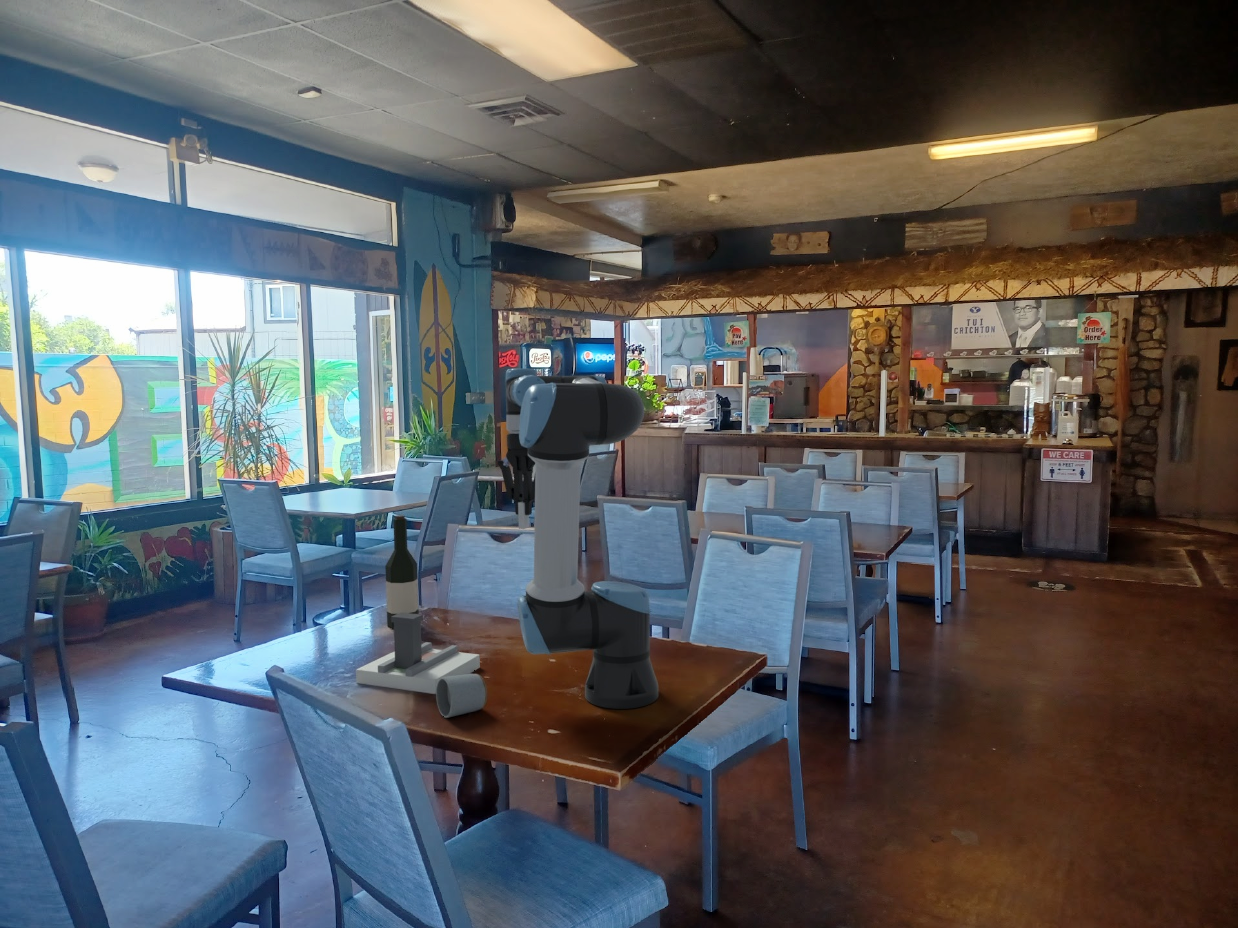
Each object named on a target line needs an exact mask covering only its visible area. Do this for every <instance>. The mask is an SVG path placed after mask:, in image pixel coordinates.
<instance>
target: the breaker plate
mask: <svg viewBox="0 0 1238 928" xmlns="http://www.w3.org/2000/svg"><path fill="white" fill-rule="evenodd" d="M432 645H433V644H432V642H428V641H426V642H424V643H421V650H422V661H420V662H419V663H417V664H415V665H413V666H411V667H409V668H399V667H395V650H394V651H393V652H390V653H388V654H386V655H384V656H382V657H380V658H378V659H376V660H373V661H371V662H369V663H367V664H365V665H362V666H361V667H358V668H357V669H355V672H356V674H355V676H356V677H355V678H356V679H355V680H356V684H362V685H368V686H373V687H375V686H376V687H383V688H389V689H398V690H404V691H411V692H419V693H425V694H432V695H436V687H437V683H438V681H439V679H440V678H442V677H448V676H457V675H465V674H472V673H473V672H475V671H477V670H478V669H480V668H481V664H480V663H481V661H480V654H478V653H470V652H469V653H468V652H460V651H459V648H458V647H459V646H458V645H454V644H450V646H447V647H446V648H444V649H435V648H432V647H433V646H432ZM474 670H475V671H474Z"/></svg>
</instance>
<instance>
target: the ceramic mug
mask: <svg viewBox="0 0 1238 928" xmlns="http://www.w3.org/2000/svg"><path fill="white" fill-rule="evenodd" d="M435 698H436V705H437V709H438V711H439V713H440V715H441V716H442V717H443V716H444V717H443V718H445V719H448V718H452V717H456V716H460V715H461V716H462V715H465V714H469V713H474V712H477V711H480V710H482V709H483V708H484V707H485V705H486V703H487V701H488V689H487V684H486V682H485V679H484V678H483V677H482V675H480V674H479V673H470V674H465V675H457V676H448V677H442V678H440V679H439V681H438V683H437V687H436V694H435Z"/></svg>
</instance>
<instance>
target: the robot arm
mask: <svg viewBox="0 0 1238 928" xmlns="http://www.w3.org/2000/svg"><path fill="white" fill-rule="evenodd" d="M504 385H505V402H506V403H505V406H506V408H505V409H506V413H505V414H506V416H505V417H506V426H505V427H506V431H507V432H508V433H507V434H506V447H507V450H506V451H507V452H506V455H505V457H504V458H503V459H501V460H500V459H499V460H498V461H497V465H498V466H499V469H500V470H501V474H502V478H503V482H504V487H505V491H506V497H507V499H509V500H513V502H514V505H515V508H514V510H515V515H516V516H517V515H518V516H517V517H518V519H517V520H518V529H519V530H520V529H521V530H526V529H528V528H530V515H532V512H533V509H532V508H533V501H534V538H533V539H534V542H533V543H534V545H533V547H534V548H533V550H534V551H533V553H534V554H533V579H531V580H530V581H529V582H528V583H527V584H526V586H525V595H523V594H522V595H521V596H518V597H517V602H516V603H517V613H518V619H519V626H520V632H521V635H522V640H523V644H524V647H525V649H526V650H527V652H529V654H531V655H545V654H547V655H552V654H560V653H562V654H563V653H569V652H570V653H571V652H582V651H589V650H590V651H591V650H592V662H591V664H590V668H589V671H588V676H587V678H586V681H585V683H584V684H585V685H584V698H585V699H586V701H587V702H589V703H590V704H592V705H594V706H596V707H601V708H606V709H613V710H614V709H615V710H625V709H626V710H628V709H636V708H641V707H645V706H648V705H650V704H653V703H654V702H655V701H657V700H658V698H659V683H658V680H657V677H656V674H655V671H654V668H653V665H652V662H651V655H650V653H651V652H650V648H651V646H650V643H651V641H650V640H651V639H650V614H651V609H650V608H651V607H650V597H649V593H648V592H647V590H646V589H644V588H643V587H641V586H638V585H636V584H632V583H628V582H627V583H626V582H620V581H612V580H611V581H610V580H609V581H608V580H607V581H606V580H604V581H602V580H601V581H595V582H594V583H592V586H591V590H590V591H589V590H588V591H585V585H584V584H583V583H582V582H581V581H580V580H579V579H578V570H579V569H578V568H579V567H578V566H579V536H580V535H579V533H580V531H579V530H580V529H579V528H580V502H581V501H580V500H581V499H580V497H581V467H582V464H583V462H585V461H586V460H587V459H588V458H589V457H590V446H600V445H601V446H602V445H605V446H606V445H612V444H616V443H619V442H622V441H624V440H626V439H628V438H629V437H631V436H632V435H633V434H634V433H635V432H636V431H637V430H638V428H639V427H640V426H641V424H642V422H643V419H644V416H645V405H644V403H643V400H642V397H641V396H640V395H639V394H638V392H637V391H635V390H634V388H631V387H629V386H626V385H623V384H616V383H609V382H608V383H607V381H606V378H605V377H604V376H601V375H592V374H588V375H537V371H536V370H535V369H534V368H526V367H525V368H523V367H521V368H518V367H517V368H508V369H507V370H506V372H505V381H504ZM510 465H511V467H512V469H511V467H510ZM534 467H535V469H534ZM534 470H535V471H534ZM533 473H534V476H533ZM533 477H534V478H533Z"/></svg>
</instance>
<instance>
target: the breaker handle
mask: <svg viewBox="0 0 1238 928" xmlns="http://www.w3.org/2000/svg"><path fill="white" fill-rule="evenodd" d="M421 621H424V615H423V614H420V613H419V614H411V613H399V614H396V615H394V616H391V622H394V629H393V635H394V636H393V639H394V642H393V643H394V645H393V646H394V651H395V667H399V668H409V667H411V666H413V665H415V664H417V663H419V662H420V661H422V650H421V644H422V624H421V623H422V622H421Z"/></svg>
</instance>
